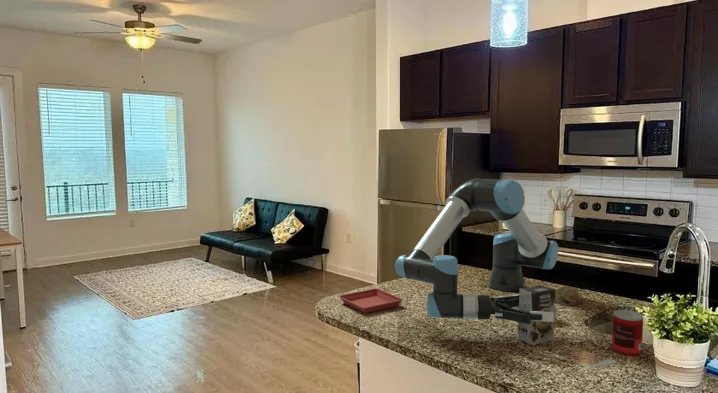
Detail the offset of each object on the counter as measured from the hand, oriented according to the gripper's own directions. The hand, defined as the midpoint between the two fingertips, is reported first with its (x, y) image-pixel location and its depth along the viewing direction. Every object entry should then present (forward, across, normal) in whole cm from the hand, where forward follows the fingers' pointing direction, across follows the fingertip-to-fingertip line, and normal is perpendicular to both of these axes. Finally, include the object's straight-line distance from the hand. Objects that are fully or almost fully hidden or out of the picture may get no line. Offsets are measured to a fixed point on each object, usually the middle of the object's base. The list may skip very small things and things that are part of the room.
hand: (547, 309), depth 151 cm
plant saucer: (-58, -28, -10) cm, 65 cm away
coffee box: (-3, 0, -10) cm, 10 cm away
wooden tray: (-3, -22, -10) cm, 25 cm away
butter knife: (+5, +20, -10) cm, 23 cm away
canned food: (+21, +6, -10) cm, 24 cm away
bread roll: (+17, -42, -10) cm, 47 cm away
